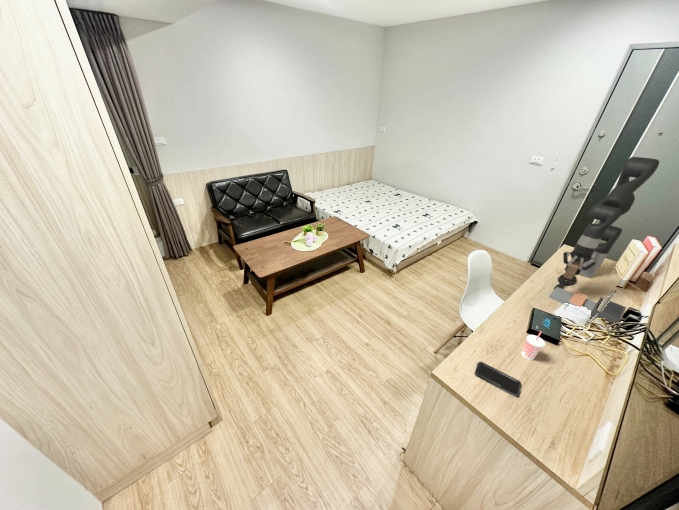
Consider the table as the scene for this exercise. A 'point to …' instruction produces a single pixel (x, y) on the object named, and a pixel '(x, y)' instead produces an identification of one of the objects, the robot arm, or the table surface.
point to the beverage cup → (532, 346)
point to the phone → (498, 379)
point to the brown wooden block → (571, 270)
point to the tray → (609, 311)
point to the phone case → (579, 327)
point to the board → (565, 297)
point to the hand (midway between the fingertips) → (571, 272)
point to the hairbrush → (563, 282)
